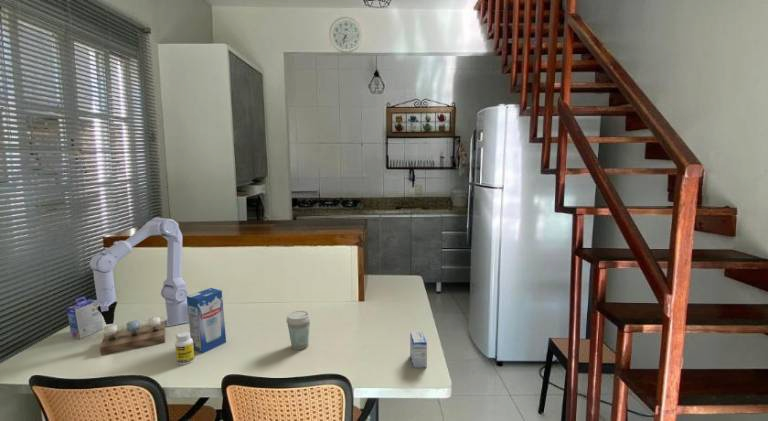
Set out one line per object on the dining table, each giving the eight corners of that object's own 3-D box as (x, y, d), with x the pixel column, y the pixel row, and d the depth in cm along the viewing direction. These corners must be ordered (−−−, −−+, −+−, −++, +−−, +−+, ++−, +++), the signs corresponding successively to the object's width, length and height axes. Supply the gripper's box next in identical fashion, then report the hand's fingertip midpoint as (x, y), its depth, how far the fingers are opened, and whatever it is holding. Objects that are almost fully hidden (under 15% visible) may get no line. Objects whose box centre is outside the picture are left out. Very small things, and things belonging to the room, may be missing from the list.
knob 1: (118, 334, 156) (117, 323, 155) (117, 339, 153) (116, 327, 152) (106, 337, 154) (104, 325, 154) (104, 341, 151) (103, 330, 150)
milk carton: (202, 353, 147) (197, 299, 144) (191, 349, 150) (186, 296, 147) (226, 342, 156) (221, 290, 152) (215, 338, 159) (211, 287, 156)
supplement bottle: (176, 366, 139) (173, 338, 137) (177, 359, 144) (174, 332, 142) (194, 362, 141) (191, 335, 139) (194, 355, 146) (192, 329, 144)
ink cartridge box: (94, 327, 172) (89, 293, 169) (104, 328, 170) (99, 294, 168) (69, 337, 162) (64, 301, 160) (80, 339, 161) (74, 303, 158)
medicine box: (410, 356, 142) (409, 331, 141) (423, 355, 143) (422, 331, 141) (413, 368, 134) (413, 342, 133) (427, 367, 135) (427, 342, 133)
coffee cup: (291, 354, 145) (289, 321, 143) (285, 344, 153) (283, 313, 151) (315, 348, 149) (313, 316, 147) (308, 338, 157) (306, 308, 155)
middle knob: (140, 330, 159) (139, 319, 159) (139, 334, 156) (138, 323, 155) (128, 333, 157) (126, 322, 157) (127, 337, 154) (125, 325, 153)
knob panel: (165, 330, 167) (164, 323, 166) (164, 342, 156) (164, 335, 156) (105, 341, 158) (104, 334, 158) (101, 355, 147) (99, 347, 147)
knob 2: (161, 326, 162) (160, 316, 162) (161, 330, 159) (159, 319, 158) (149, 329, 161) (148, 318, 160) (149, 333, 157) (147, 321, 156)
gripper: (95, 283, 155) (99, 318, 157) (88, 295, 142) (93, 333, 144) (117, 280, 158) (121, 314, 160) (112, 292, 145) (117, 329, 148)
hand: (109, 323), depth 153 cm, fingers closed
